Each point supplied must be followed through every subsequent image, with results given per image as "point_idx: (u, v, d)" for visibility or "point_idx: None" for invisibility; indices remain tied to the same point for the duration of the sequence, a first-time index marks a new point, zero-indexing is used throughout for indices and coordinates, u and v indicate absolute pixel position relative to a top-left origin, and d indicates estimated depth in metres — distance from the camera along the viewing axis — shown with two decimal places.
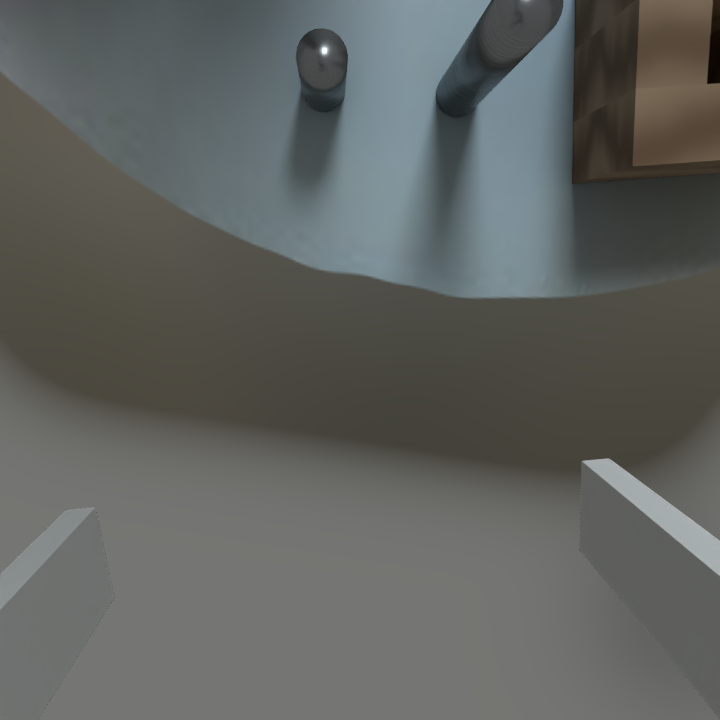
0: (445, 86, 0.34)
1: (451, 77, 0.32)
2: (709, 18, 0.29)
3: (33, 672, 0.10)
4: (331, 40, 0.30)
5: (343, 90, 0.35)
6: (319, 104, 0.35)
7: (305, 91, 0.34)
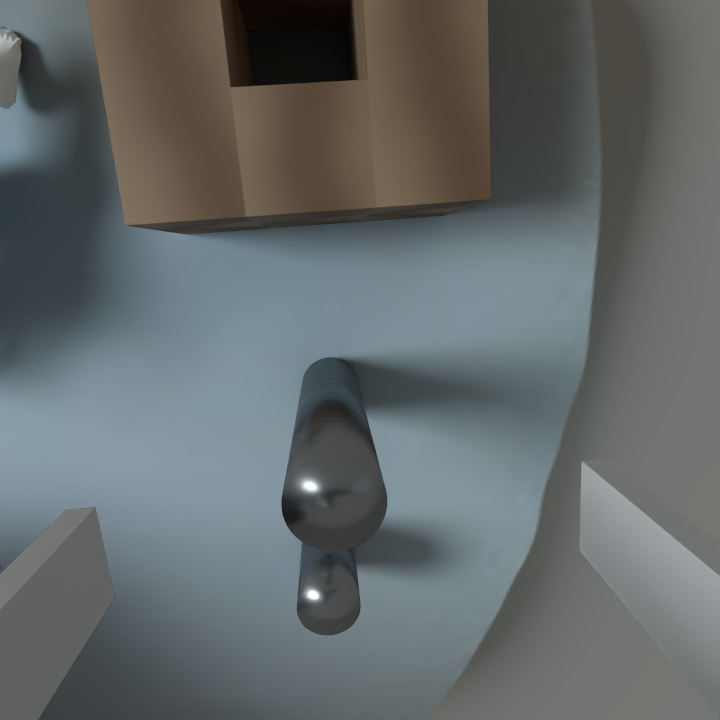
0: None
1: None
2: (270, 89, 0.18)
3: (32, 673, 0.10)
4: (309, 598, 0.25)
5: None
6: None
7: None
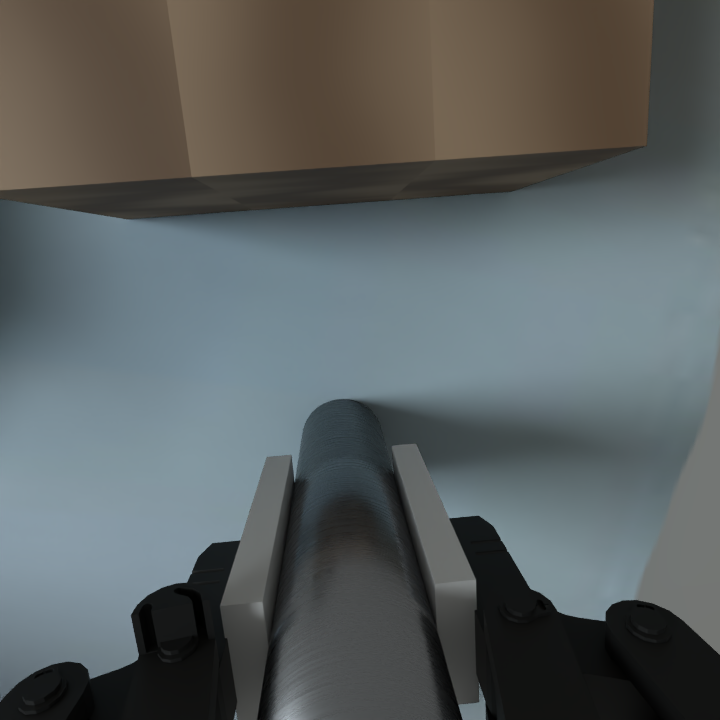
0: None
1: None
2: None
3: None
4: None
5: None
6: None
7: None
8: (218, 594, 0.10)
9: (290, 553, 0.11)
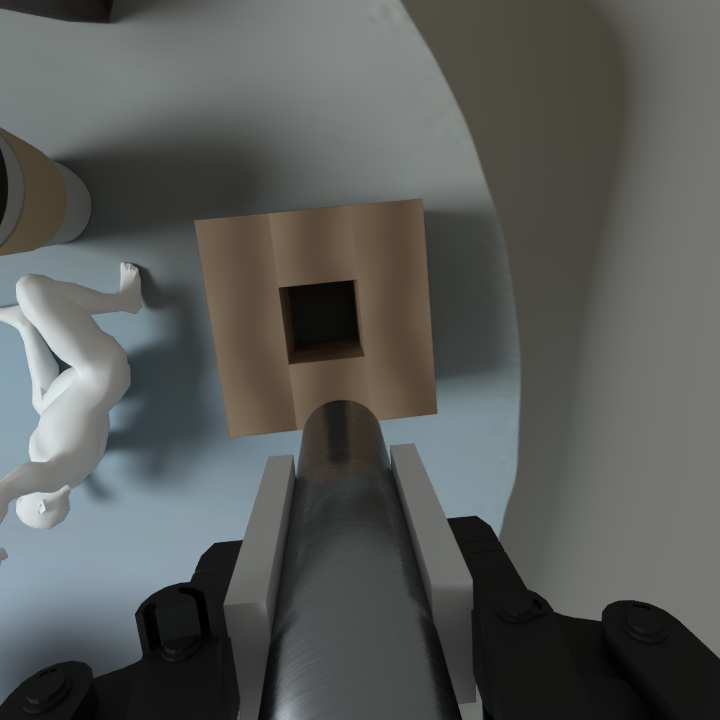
0: None
1: None
2: (310, 364, 0.32)
3: None
4: None
5: None
6: None
7: None
8: (221, 593, 0.10)
9: (291, 553, 0.11)
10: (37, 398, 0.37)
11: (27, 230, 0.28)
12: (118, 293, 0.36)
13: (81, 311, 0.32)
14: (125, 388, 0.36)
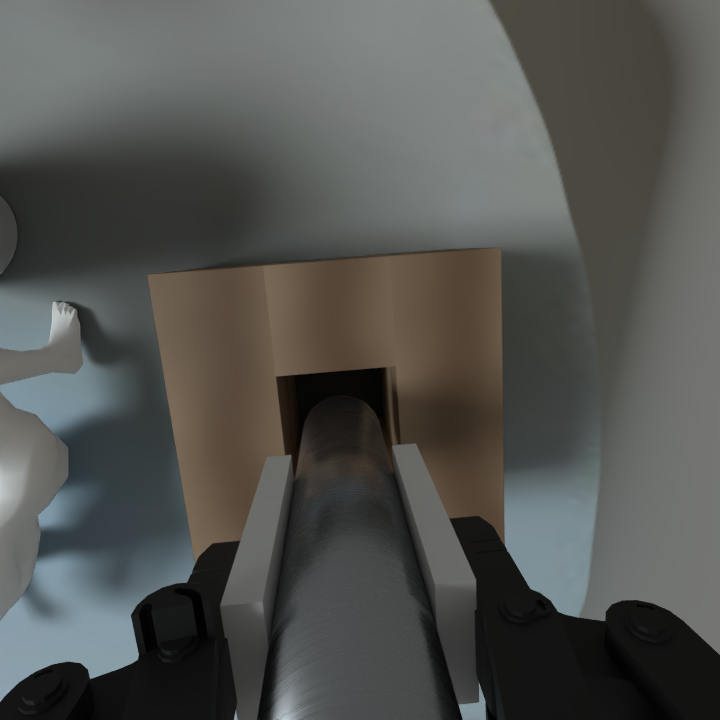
0: None
1: None
2: None
3: None
4: None
5: None
6: None
7: None
8: (218, 594, 0.10)
9: (292, 540, 0.11)
10: None
11: None
12: (45, 348, 0.25)
13: None
14: (59, 483, 0.25)
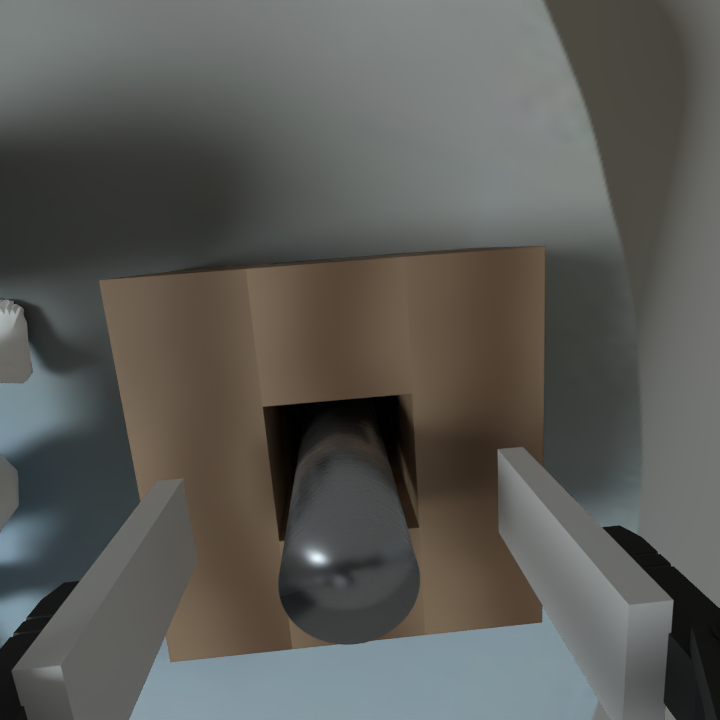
0: None
1: None
2: None
3: (151, 617, 0.11)
4: None
5: None
6: None
7: None
8: None
9: (302, 459, 0.16)
10: None
11: None
12: None
13: None
14: (4, 515, 0.21)
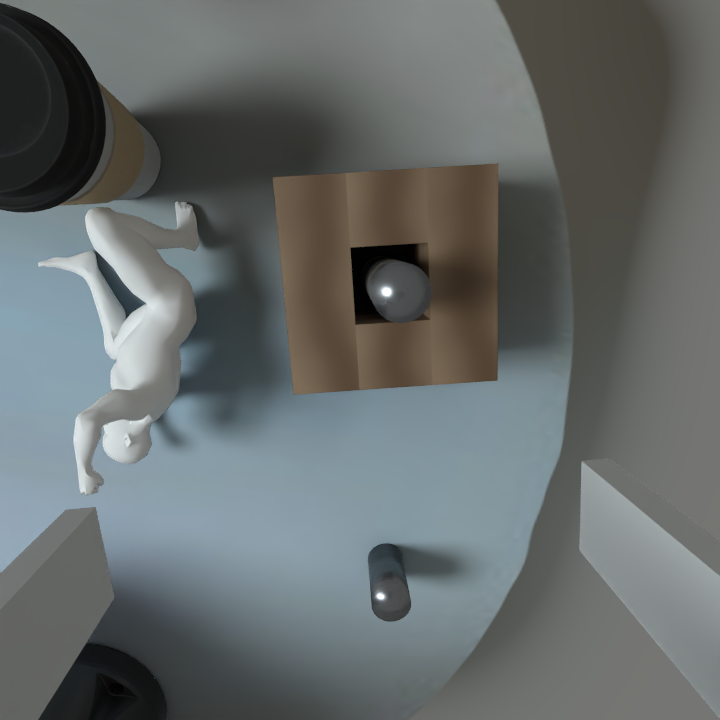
0: None
1: None
2: (376, 325, 0.33)
3: (33, 673, 0.10)
4: (379, 598, 0.40)
5: (396, 559, 0.43)
6: None
7: None
8: None
9: (372, 270, 0.31)
10: (109, 342, 0.38)
11: (111, 180, 0.29)
12: (177, 229, 0.36)
13: (147, 243, 0.33)
14: (193, 322, 0.36)
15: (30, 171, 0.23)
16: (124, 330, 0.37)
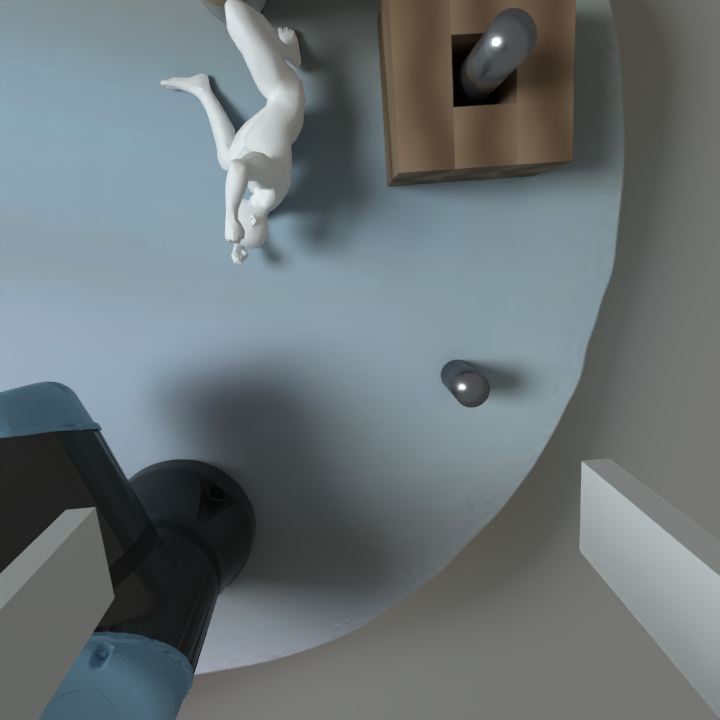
0: None
1: (475, 104, 0.41)
2: (471, 108, 0.38)
3: (32, 673, 0.10)
4: (462, 384, 0.45)
5: (469, 366, 0.49)
6: None
7: None
8: None
9: (472, 49, 0.36)
10: (224, 151, 0.43)
11: None
12: None
13: (271, 37, 0.38)
14: (301, 124, 0.41)
15: None
16: (240, 136, 0.42)
